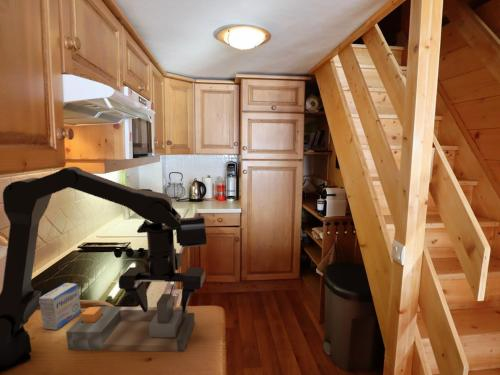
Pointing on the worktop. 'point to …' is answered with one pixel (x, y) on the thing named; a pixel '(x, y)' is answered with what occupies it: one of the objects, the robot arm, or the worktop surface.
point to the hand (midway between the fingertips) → (165, 311)
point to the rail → (127, 331)
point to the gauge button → (91, 315)
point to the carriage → (165, 318)
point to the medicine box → (60, 306)
